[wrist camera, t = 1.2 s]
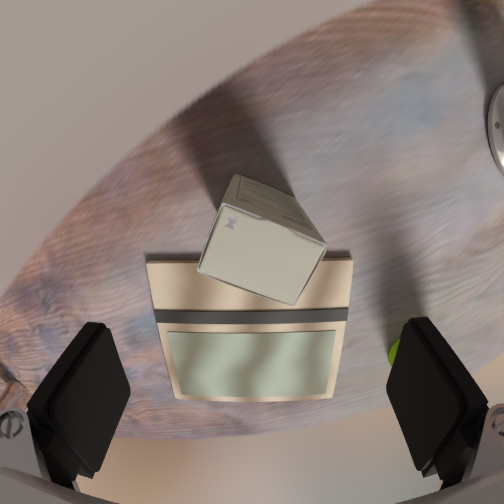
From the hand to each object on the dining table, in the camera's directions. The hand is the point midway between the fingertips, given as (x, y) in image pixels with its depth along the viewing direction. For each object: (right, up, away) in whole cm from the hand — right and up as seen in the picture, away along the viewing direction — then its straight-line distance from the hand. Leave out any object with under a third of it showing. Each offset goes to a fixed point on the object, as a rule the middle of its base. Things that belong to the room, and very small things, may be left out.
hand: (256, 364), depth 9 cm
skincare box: (0, +7, +19) cm, 20 cm away
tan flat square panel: (0, -6, +24) cm, 25 cm away
